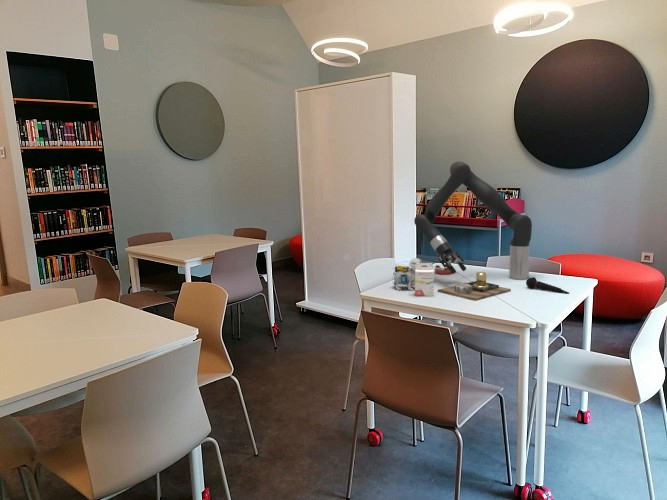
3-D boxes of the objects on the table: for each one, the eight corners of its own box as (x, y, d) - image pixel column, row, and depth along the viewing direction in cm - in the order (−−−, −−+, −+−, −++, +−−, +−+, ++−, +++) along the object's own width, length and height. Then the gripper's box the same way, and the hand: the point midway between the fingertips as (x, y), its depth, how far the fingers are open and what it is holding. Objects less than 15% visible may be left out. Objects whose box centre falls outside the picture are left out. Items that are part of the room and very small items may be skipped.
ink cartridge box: (415, 296, 229) (415, 265, 226) (414, 293, 234) (414, 263, 231) (434, 296, 228) (434, 264, 225) (433, 293, 233) (433, 262, 230)
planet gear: (479, 285, 241) (479, 270, 240) (492, 288, 235) (493, 272, 234) (469, 288, 237) (469, 272, 236) (482, 291, 231) (482, 275, 229)
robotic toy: (425, 292, 236) (425, 261, 233) (389, 290, 241) (388, 260, 239) (428, 286, 247) (428, 256, 245) (394, 284, 253) (394, 255, 251)
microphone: (568, 299, 228) (527, 287, 241) (572, 287, 227) (530, 276, 241) (565, 298, 224) (522, 286, 237) (568, 286, 223) (526, 275, 237)
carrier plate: (472, 283, 251) (473, 275, 250) (510, 291, 233) (511, 282, 233) (437, 291, 236) (437, 283, 235) (475, 300, 218) (475, 291, 218)
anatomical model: (428, 272, 276) (435, 246, 277) (436, 275, 281) (443, 250, 282) (444, 275, 268) (451, 248, 269) (452, 278, 273) (459, 252, 275)
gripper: (436, 243, 244) (455, 269, 237) (453, 239, 253) (472, 264, 246) (428, 252, 248) (446, 278, 242) (445, 249, 258) (463, 273, 251)
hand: (459, 271), depth 244 cm, fingers open, 8 cm apart
